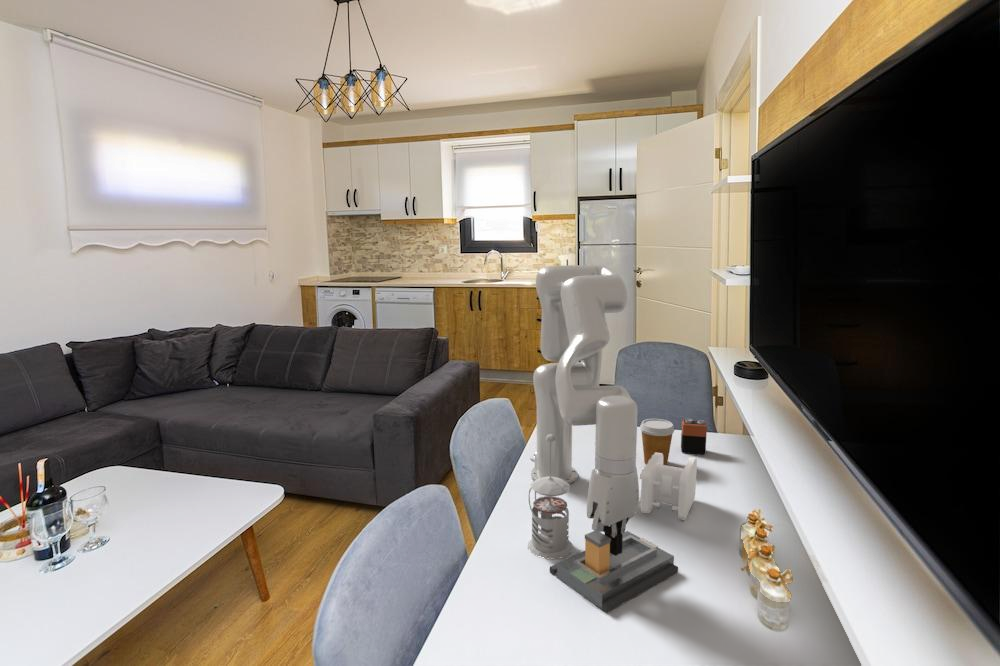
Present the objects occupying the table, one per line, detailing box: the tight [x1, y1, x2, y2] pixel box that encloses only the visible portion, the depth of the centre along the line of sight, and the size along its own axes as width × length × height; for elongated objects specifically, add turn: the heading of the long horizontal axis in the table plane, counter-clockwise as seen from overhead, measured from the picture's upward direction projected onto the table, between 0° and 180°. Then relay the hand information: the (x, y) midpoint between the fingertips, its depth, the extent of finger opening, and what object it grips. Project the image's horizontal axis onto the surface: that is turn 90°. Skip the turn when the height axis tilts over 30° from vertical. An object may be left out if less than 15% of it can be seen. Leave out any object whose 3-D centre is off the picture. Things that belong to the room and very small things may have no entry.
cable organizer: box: [639, 452, 698, 521], centre depth 137 cm, size 15×11×12 cm
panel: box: [556, 530, 675, 611], centre depth 112 cm, size 12×20×4 cm, turn 126°
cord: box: [549, 563, 557, 576], centre depth 118 cm, size 1×20×1 cm, turn 126°
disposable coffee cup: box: [639, 418, 676, 466], centre depth 163 cm, size 10×10×12 cm
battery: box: [680, 417, 708, 455], centre depth 172 cm, size 4×7×10 cm, turn 77°
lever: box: [584, 530, 611, 574], centre depth 108 cm, size 4×3×6 cm
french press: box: [527, 434, 574, 560], centre depth 121 cm, size 10×12×25 cm
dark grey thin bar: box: [601, 564, 679, 614], centre depth 107 cm, size 1×20×1 cm, turn 126°
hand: (613, 551), depth 110 cm, fingers closed
